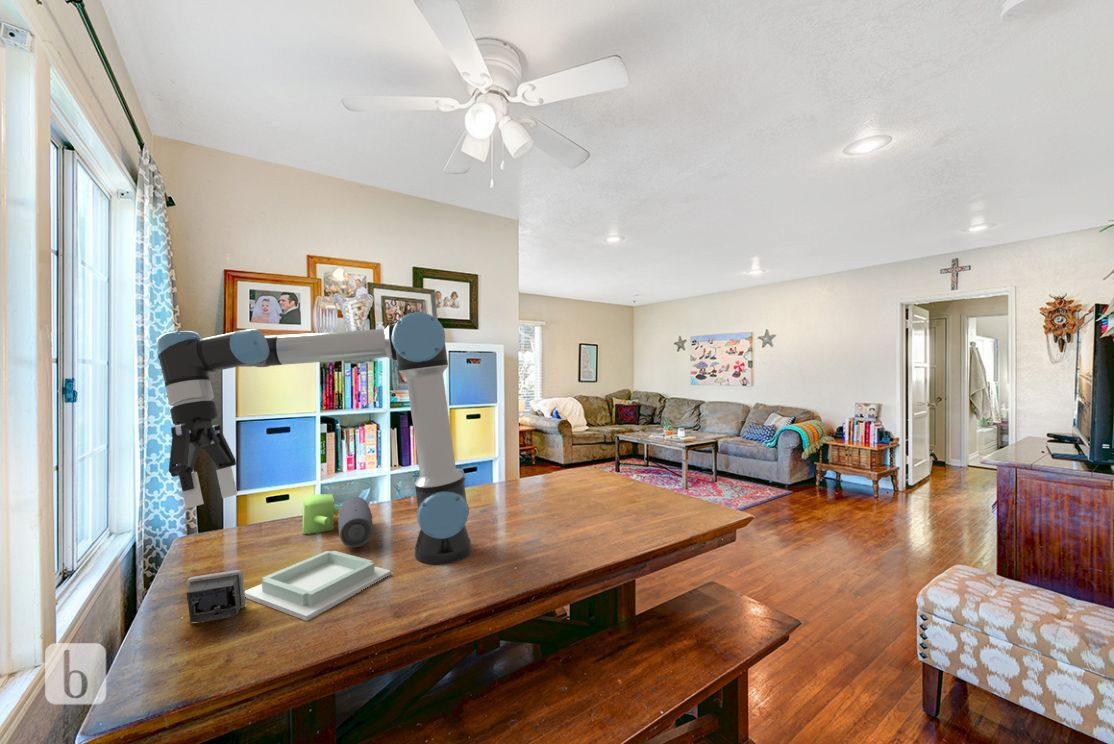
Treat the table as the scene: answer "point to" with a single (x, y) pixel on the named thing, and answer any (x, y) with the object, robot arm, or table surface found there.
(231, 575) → the electrical switch
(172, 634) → the table surface
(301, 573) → the pocket tray
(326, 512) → the gearbox
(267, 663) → the table surface
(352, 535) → the bluetooth speaker
